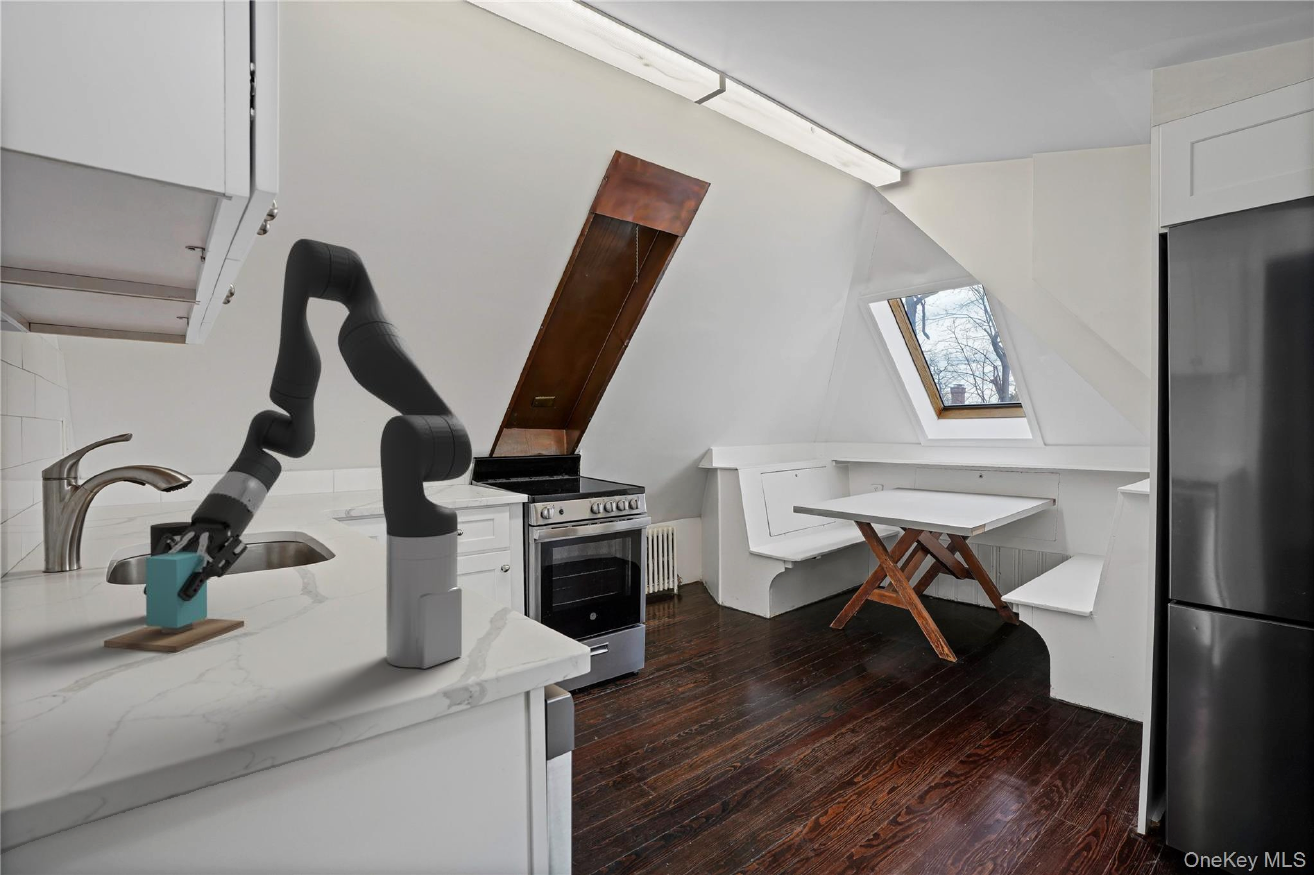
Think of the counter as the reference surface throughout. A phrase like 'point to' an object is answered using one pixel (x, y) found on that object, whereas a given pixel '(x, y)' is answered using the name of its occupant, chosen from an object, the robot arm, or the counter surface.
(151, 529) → the deodorant
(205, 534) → the robot arm
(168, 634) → the post board
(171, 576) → the teal block
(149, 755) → the counter surface
